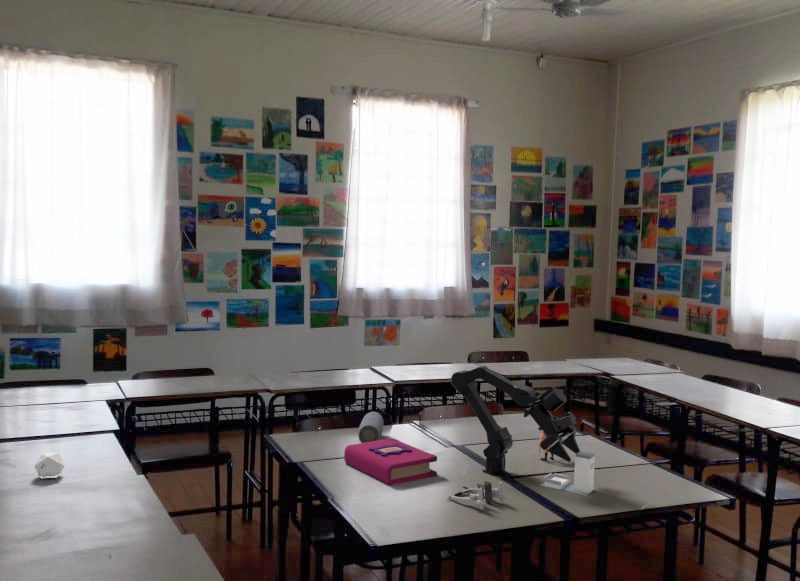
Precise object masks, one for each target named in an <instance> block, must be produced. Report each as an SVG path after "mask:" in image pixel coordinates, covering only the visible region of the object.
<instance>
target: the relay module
mask: <svg viewBox="0 0 800 581" xmlns="http://www.w3.org/2000/svg"><path fill="white" fill-rule="evenodd" d="M595 455H596V454H595V453H592V452H587V451H581V450H580V452H578V453H577V454H576V453H575V456H574V475H573V477H574V478H573V483H574V490H575V491H580V492H584V493H589V494H591V493H592V492H593V491H594V490H593V488H594V485H595V481H594V479H595V463H596V461H595V460H596V456H595ZM592 490H593V491H592ZM591 491H592V492H591ZM590 492H591V493H590Z"/></svg>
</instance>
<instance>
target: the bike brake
mask: <svg viewBox="0 0 800 581" xmlns="http://www.w3.org/2000/svg"><path fill="white" fill-rule="evenodd" d="M498 483H499V484H498V485H499V487H494V488H492V487H493V486H492V482H490V481H486V480H485V481H484V482H483V484H481V483H476V486H475V487H476V488H473V487H470V488H469V487H467V486H462V488H463V489H464V490H461V491H460V492H459V491H458V492H456V493H455V494H449V495H448V497H446V500H450V501H453V502H454V501H456V502H461V503H469V504H474V505H475V504H476V505H477V506H478V507H479V508H480V509H481V510H482V509H484V508H485V507H486V505H487V504H489V505H493V504H494V499H493V498H498V499H499V501H500V502H502V503H503V502H505V500H506V497H507V496H506V493H504V485H503V482H502V481H500V482H498ZM468 494H469V495H468ZM465 495H466V496H467V495H468V496H469V497H463V496H465Z"/></svg>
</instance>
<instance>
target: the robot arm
mask: <svg viewBox="0 0 800 581" xmlns="http://www.w3.org/2000/svg"><path fill="white" fill-rule="evenodd" d="M450 378H451V379H450V383H451V385H452V386H453V388H455V390H456V392H458V393H459V394H460V395H462V396H463V397H464V398H465V399H466V401H467V403H468V404H469V406H470V407H471V409H472V411H473V413H474V414H475V416H476V417H477V419H478V420H479V422H480V424H481V425H482V427H483V429H484V430H485V432H486V433H485V434H486V440H487V443H488V446H487V447H485V449H483V451H482V452H483V456H484V457H485V459H486V461H485V468H484V469H482V472H483V473H486V474H490V475H492V476H496V477H497V476H501V475H505V474H508V473H509V472H508V470H506V454H508V452H509V450H510V449H511V448H512V446H513V443H514V440H513V438H512V437H513V435H512V434H511V433H510V432H509V429H508V428H507V427H506V426H504V427H501V426H500V425H499V424H498V422H497V421H496V419H495V418H494V416H493V414H492V413H491V411H490V409H489V408H488V407H487V405H486V403H485V401H484V400H483V398H482V397H481V395H480V393H479V391H478V390H477V382H476V381H477V380H479V379H480V380H482V381H484V382H486V383H488V384H489V385H491V386H492V387H495V388H496V389H498V390H500V391H502V392H504V393H505V394H507V395H508V396H509V398H511V400H512V401H513V402H515V403H516V404H517V405H519V407H528V406H530V407H529V408H524V411H523V412H524V413H523V417H524V418H527V417H531V418H532V419H533V421H534V422H535V423H536V425H537V426H538V428H537V429H538V430H539V431H540V432H541V431H542V433H543V432H544V433H545V434H546V436H547V437H546V438H545V439H544V440H543V441H542V442H541V444H540V446H541V449H542V450H543V452H545V450H546V449H547V452H548V453H550V454H551V453H552V454H554V455H555V456H557V457H558V458H561V459H562V460H564V461H566V462H568V463H569V462H571V461H572V459H571V457H570V455H569V453H568V452H567V450H566V449H565V447H566V448H567V449H569V450H570V451H571V452H573V453H574V454H575V455H576V454H577V453H578V452H580V451H581V449H580V447H579V445H578V443H577V440H576V434H577V431H576V430H577V427H576V426H575V425H576V424H577V421H576V419H577V416H576V415H574V413H572V412H571V411H568V412H565V413H564V416H563V417H560V418H559V417H558V416H556V415H554V416H553V415H552V413H551V412H553V413H554V412H555V411H557V410H558V409H559V408H560V407H561V406H563V405H564V404H565V403H566V402H567V396H566V394H565V393H564V392H563V391H561V390H560V389H559V388H558V387H557V388H556V387H555V386H554V385H551V386H550V387H548V389H547V390H546V391H545V392H544V393H543V392H542V393H541V392H539V391H536V389H534V388H533V387H531V386H528V385H525V384H519V383H516V382H515V381H514V382H513V381H511V380H510V379H508V378H506V377H504V376H503V375H501V374H499V373H498V372H496V371H494V370H492V369H490V368H489V367H488V366H487V365H481V366H477V367H475V368H474V369H471V370H467V369H464V370H460V371H457V372H454V373H453V374H452V375H451V377H450ZM538 402H539V403H538ZM574 424H575V425H574ZM554 455H553V456H554Z"/></svg>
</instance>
